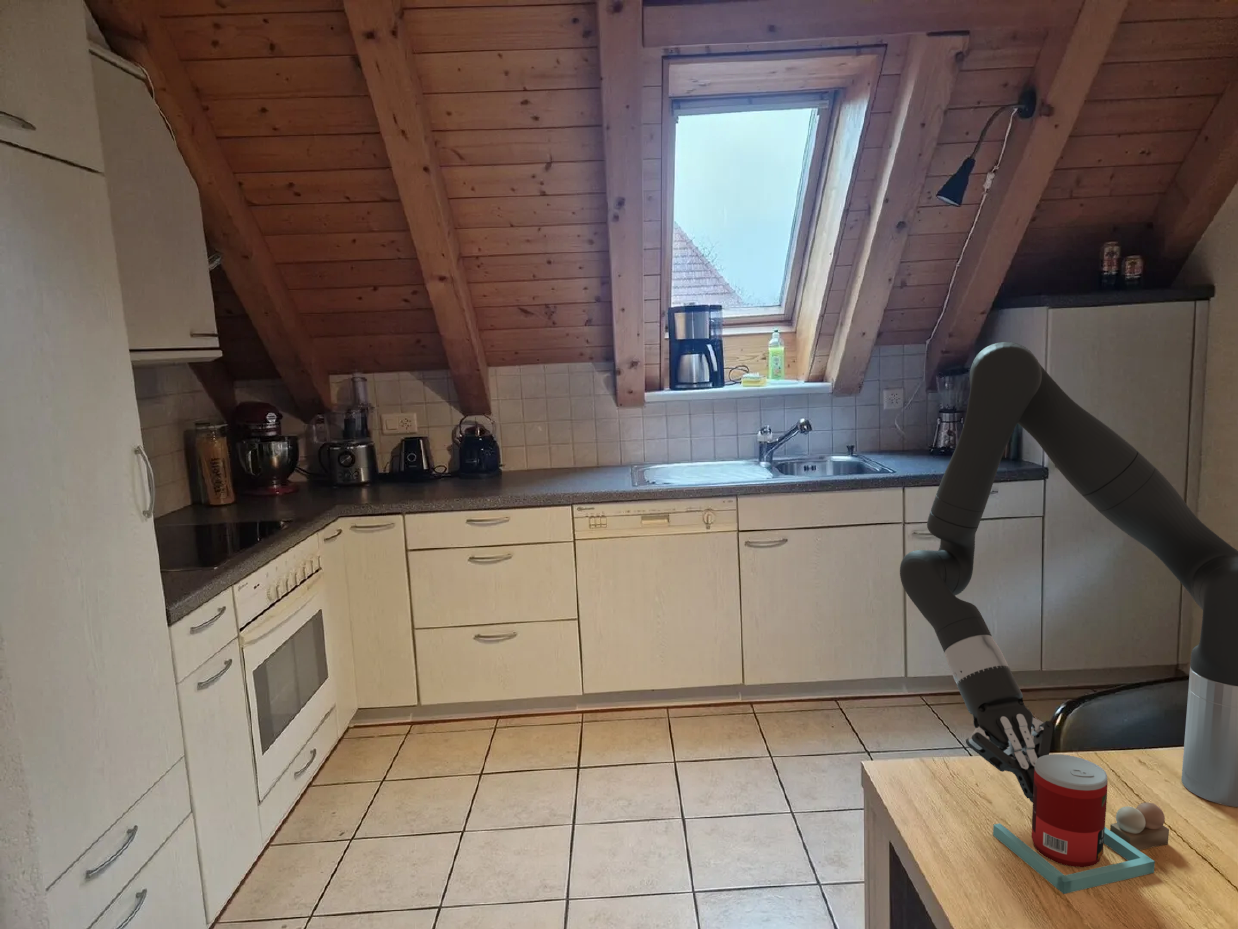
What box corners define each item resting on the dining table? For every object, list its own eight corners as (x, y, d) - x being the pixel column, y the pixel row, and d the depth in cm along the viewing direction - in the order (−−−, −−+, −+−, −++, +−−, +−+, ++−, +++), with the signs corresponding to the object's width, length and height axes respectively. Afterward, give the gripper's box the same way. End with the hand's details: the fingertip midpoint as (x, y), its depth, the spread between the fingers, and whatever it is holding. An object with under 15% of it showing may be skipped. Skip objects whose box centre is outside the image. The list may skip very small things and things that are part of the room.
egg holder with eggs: (1147, 829, 107) (1149, 795, 107) (1169, 844, 104) (1171, 809, 104) (1108, 838, 106) (1110, 803, 105) (1129, 853, 103) (1131, 817, 102)
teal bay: (1076, 817, 111) (1076, 807, 110) (1154, 872, 99) (1154, 861, 99) (993, 835, 107) (993, 824, 107) (1063, 894, 96) (1064, 882, 96)
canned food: (1114, 871, 100) (1119, 786, 98) (1044, 867, 101) (1048, 784, 99) (1086, 833, 107) (1091, 754, 105) (1022, 830, 108) (1025, 752, 106)
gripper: (953, 670, 113) (1012, 801, 103) (1035, 658, 116) (1100, 784, 106) (929, 690, 119) (982, 816, 109) (1007, 678, 122) (1066, 800, 112)
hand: (1040, 800), depth 108 cm, fingers closed
